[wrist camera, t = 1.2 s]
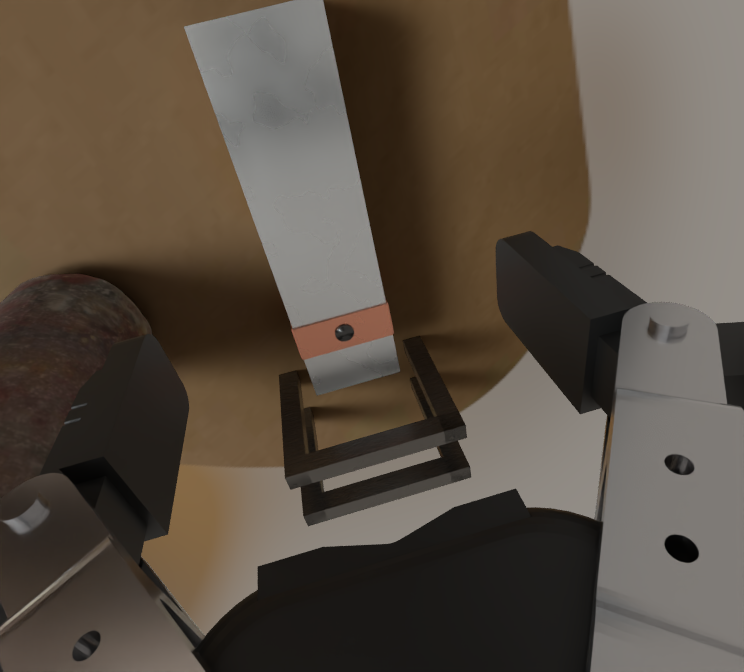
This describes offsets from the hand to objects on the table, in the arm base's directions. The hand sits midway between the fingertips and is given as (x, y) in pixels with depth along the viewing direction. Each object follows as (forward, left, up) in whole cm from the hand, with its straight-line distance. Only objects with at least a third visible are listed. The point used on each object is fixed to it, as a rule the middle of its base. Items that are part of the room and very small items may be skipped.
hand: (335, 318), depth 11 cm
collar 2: (+17, 0, -16) cm, 24 cm away
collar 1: (+14, 0, -16) cm, 21 cm away
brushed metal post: (+3, 0, -16) cm, 17 cm away
